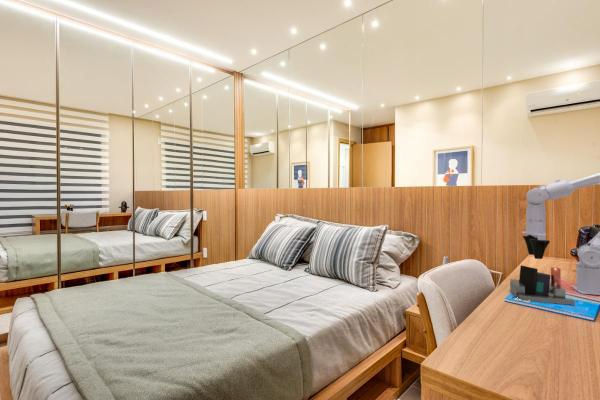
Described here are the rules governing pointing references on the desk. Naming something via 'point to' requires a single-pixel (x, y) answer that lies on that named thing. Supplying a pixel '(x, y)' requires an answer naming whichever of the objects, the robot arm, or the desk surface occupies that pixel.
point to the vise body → (519, 292)
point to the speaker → (534, 281)
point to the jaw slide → (556, 284)
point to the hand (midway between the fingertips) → (535, 256)
